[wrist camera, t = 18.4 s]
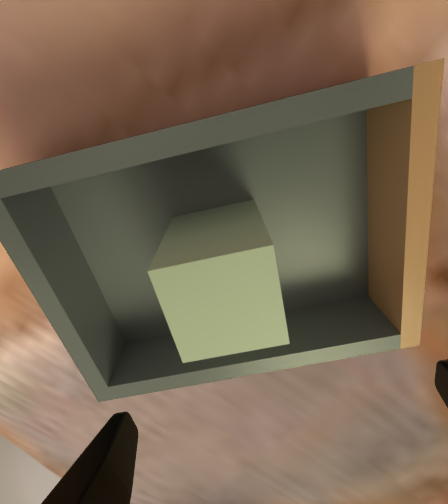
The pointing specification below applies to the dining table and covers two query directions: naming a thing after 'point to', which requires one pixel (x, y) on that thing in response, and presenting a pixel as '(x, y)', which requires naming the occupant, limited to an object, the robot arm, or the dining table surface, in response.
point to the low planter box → (274, 217)
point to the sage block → (219, 283)
